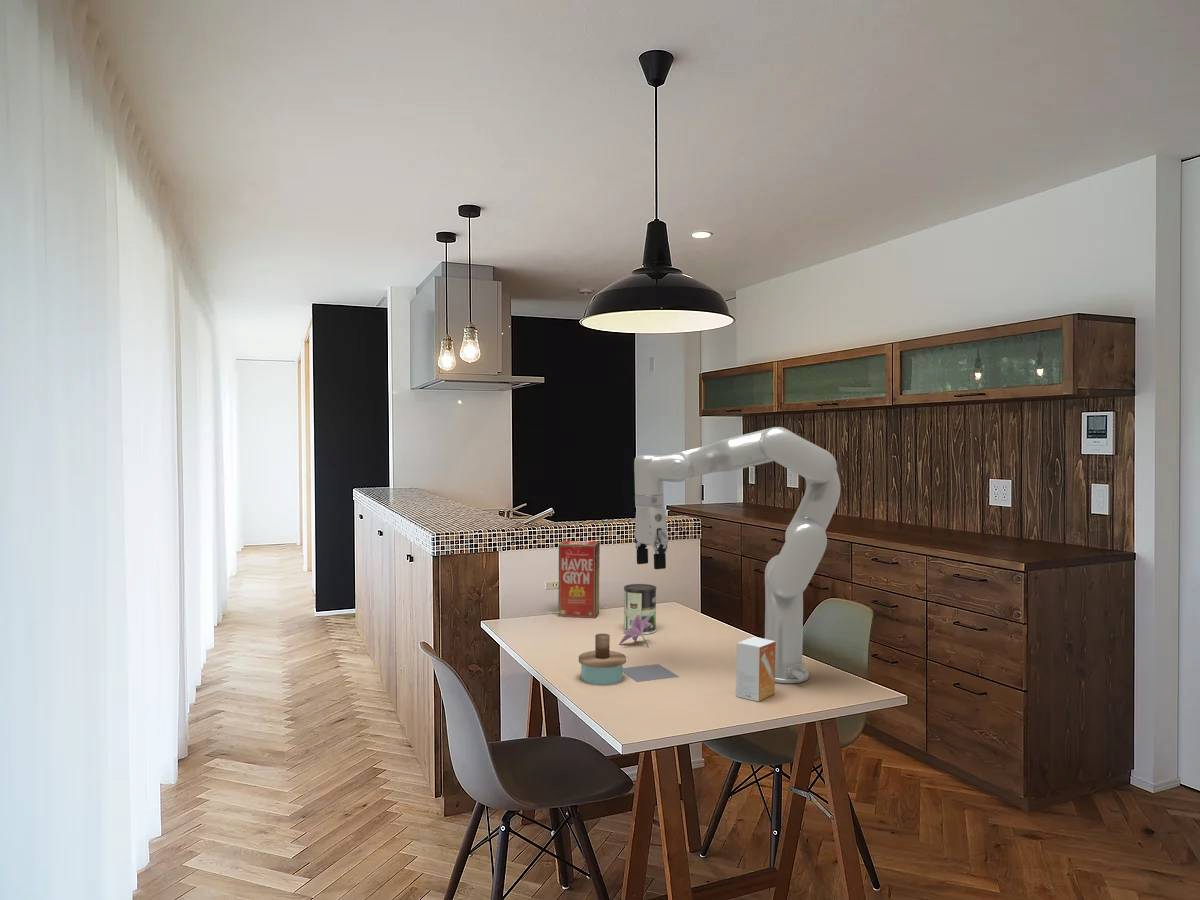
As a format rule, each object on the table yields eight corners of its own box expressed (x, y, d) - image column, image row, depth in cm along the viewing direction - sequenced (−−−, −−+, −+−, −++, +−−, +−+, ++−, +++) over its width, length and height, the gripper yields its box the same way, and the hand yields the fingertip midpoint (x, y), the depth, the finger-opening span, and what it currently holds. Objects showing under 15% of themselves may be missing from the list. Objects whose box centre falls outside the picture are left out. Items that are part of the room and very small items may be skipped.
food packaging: (557, 616, 273) (557, 543, 272) (562, 610, 282) (562, 540, 281) (596, 618, 271) (596, 544, 270) (599, 612, 280) (600, 541, 280)
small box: (759, 702, 187) (759, 647, 187) (735, 696, 191) (736, 642, 191) (775, 694, 193) (776, 640, 193) (752, 688, 197) (753, 636, 197)
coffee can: (655, 627, 259) (655, 583, 259) (656, 635, 249) (657, 589, 249) (623, 626, 260) (623, 583, 259) (623, 634, 249) (624, 589, 249)
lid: (633, 664, 199) (633, 638, 199) (589, 669, 195) (589, 643, 195) (614, 652, 210) (614, 627, 210) (571, 657, 206) (572, 631, 206)
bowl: (628, 684, 200) (628, 664, 200) (590, 688, 196) (591, 668, 196) (612, 672, 209) (612, 653, 209) (576, 676, 206) (576, 657, 205)
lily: (656, 643, 243) (643, 614, 245) (669, 637, 233) (655, 606, 235) (622, 659, 239) (609, 629, 241) (634, 654, 228) (619, 622, 231)
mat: (679, 678, 205) (679, 676, 204) (637, 684, 200) (637, 681, 200) (658, 666, 216) (658, 663, 216) (617, 670, 211) (617, 668, 211)
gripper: (678, 502, 205) (679, 569, 205) (646, 498, 220) (648, 560, 221) (652, 504, 201) (654, 572, 202) (622, 500, 217) (623, 563, 217)
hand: (651, 566), depth 211 cm, fingers open, 9 cm apart
